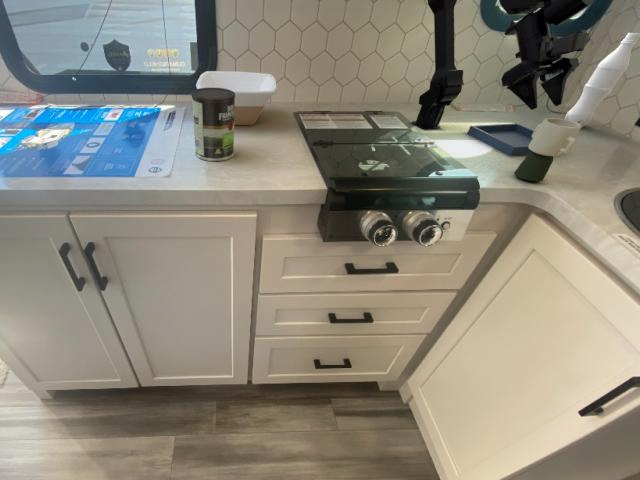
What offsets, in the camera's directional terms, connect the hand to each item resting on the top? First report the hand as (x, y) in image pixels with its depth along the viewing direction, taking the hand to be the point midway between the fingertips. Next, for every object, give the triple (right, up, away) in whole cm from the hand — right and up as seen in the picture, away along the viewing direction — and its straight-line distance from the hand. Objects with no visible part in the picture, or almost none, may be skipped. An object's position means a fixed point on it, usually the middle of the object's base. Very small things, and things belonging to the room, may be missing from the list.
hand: (546, 107), depth 82 cm
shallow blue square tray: (+8, +1, +21) cm, 23 cm away
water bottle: (+41, +14, +35) cm, 56 cm away
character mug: (-2, -16, +3) cm, 17 cm away
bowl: (-75, +12, +29) cm, 81 cm away
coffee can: (-81, -8, +8) cm, 81 cm away
